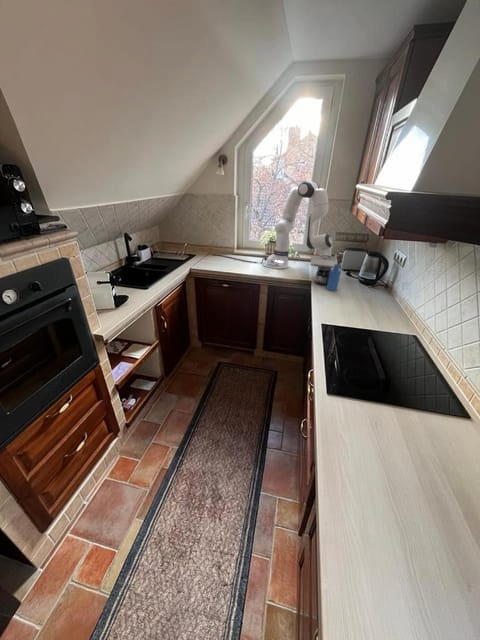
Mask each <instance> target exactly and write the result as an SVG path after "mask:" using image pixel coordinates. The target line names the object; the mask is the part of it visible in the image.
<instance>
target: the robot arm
mask: <svg viewBox="0 0 480 640" xmlns="http://www.w3.org/2000/svg"><path fill="white" fill-rule="evenodd" d="M304 198H306V199H311V200H312V212H311V214H310V215H309V217H308V224H307V225H308V226H307V237H306V247H307V248H308V249H310V250H316V249H320V251H319V254H313V255H311V256H310V267H317V268H318V267H320V266H326V267H329V268H331V269H334V265H335V264H338V258H337V257H338V255H337V254H335V253H334V252H332V250H333V244H334V240H333V237H332V236H331V235H330V234H328V233H323V234H317V235H315V226H316V223H317V222H318V221H319V220H321V219H323V218H325V216H327V214H328V213H329V209H330V204H329V197H328V192H327V190H326V188H322V187H320V185H319V183H317V182H316V181H313V180H304V181H302V182H300V183H299V185H298V186H293V188H291V190H290V192H289V194H288V195H287V199H286V201H285V203H284V207H283V210H282V218H281V220H280V221H278V222H277V223H276V225H275V227H274V231H275V239H276V241H275V242H276V244H275V248H274V249H273V251H272V253H271V255H269V256H265V257H264V258H262V259H261V262H260V264H263V267H267V268H272V269H276V270H281V269H287V268H289V266H290V265H289V255H290V232H291V231H292V230H293V228H294V225H295V222H296V218H297V214H298V212H299V208H300V206H301V203H302V200H303V199H304ZM211 256H216V257H217V256H218V257H225V258H229V259H233V260H238V261H242V262H248V263H254V264H258V262H256V261H249V260H245V259H240V258H235V257H232V256H228V255H221V254H213V253H212V254H211Z"/></svg>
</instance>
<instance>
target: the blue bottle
mask: <svg viewBox="0 0 480 640" xmlns="http://www.w3.org/2000/svg"><path fill="white" fill-rule="evenodd" d="M340 266H341V265H340V264H338V263H337V264H335V265H334V268H331V271H330V275H329V280H328V285H326V290H327V291H330V292H336V291H337V290H338V286H339V282H340V278H341V271H342V270H340Z"/></svg>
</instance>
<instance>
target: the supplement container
mask: <svg viewBox="0 0 480 640" xmlns="http://www.w3.org/2000/svg"><path fill="white" fill-rule="evenodd" d="M331 269H332V268H329V267H326V266H320V267H317V270H316V273H315V279H314V283H315V284H316V285H319V286H327V285H328V280H329V275H330V271H331Z"/></svg>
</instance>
